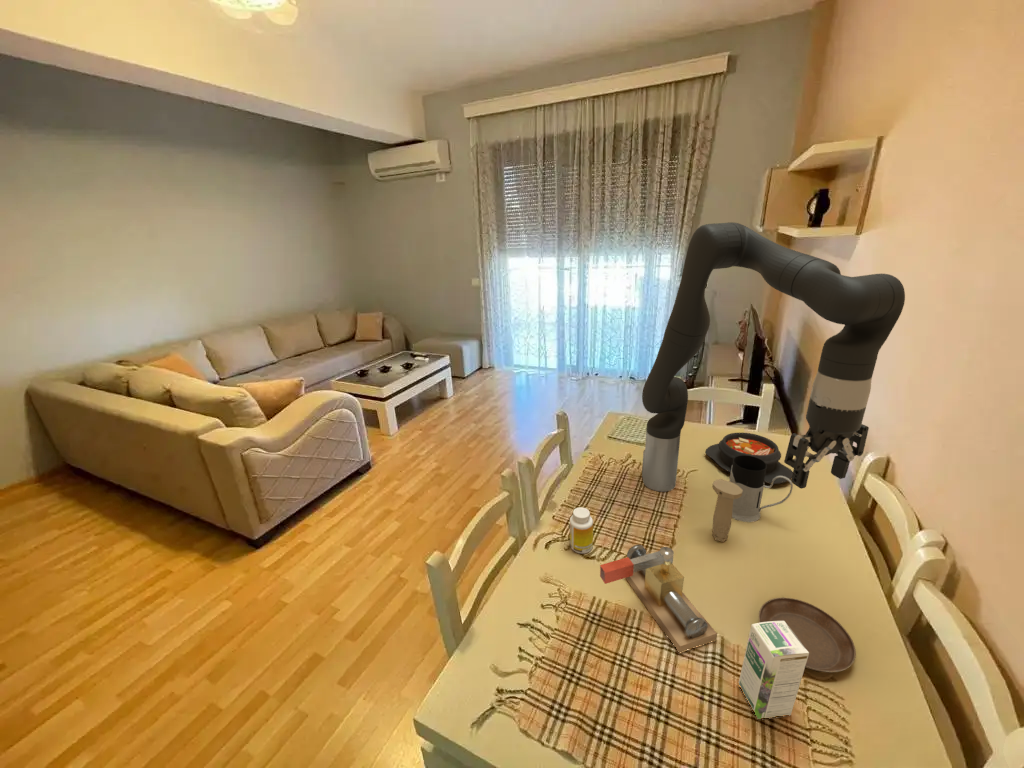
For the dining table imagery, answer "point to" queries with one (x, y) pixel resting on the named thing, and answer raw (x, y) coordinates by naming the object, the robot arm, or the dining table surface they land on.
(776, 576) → the dining table surface
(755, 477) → the glass holder
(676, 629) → the oak base board
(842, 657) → the saucer
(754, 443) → the casserole
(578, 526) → the supplement bottle
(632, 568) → the valve lever
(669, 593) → the brass ball valve
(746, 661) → the syrup box
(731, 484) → the handle
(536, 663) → the dining table surface
